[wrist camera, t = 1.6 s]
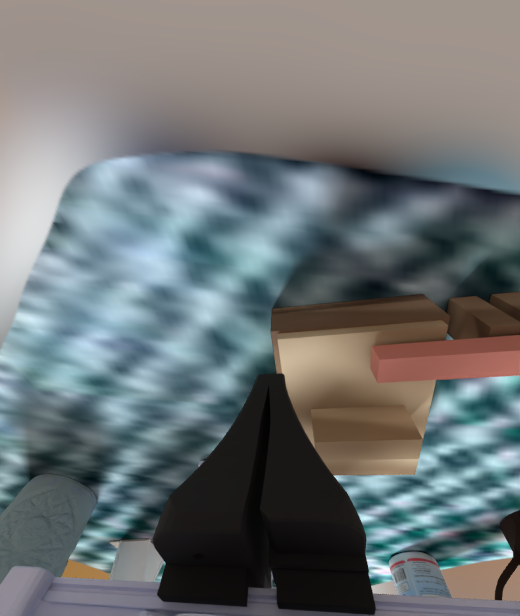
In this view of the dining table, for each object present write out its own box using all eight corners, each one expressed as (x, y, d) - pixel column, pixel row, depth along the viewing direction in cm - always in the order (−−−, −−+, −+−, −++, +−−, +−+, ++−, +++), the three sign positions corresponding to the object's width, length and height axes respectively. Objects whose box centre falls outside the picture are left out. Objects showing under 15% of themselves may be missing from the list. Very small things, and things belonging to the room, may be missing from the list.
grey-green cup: (73, 467, 29) (-46, 631, 19) (118, 511, 33) (43, 666, 23) (7, 475, 31) (-134, 628, 21) (58, 516, 35) (-37, 661, 25)
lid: (411, 466, 20) (431, 510, 17) (295, 468, 21) (298, 509, 18) (442, 320, 14) (480, 353, 11) (277, 333, 15) (277, 366, 12)
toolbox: (470, 432, 22) (503, 475, 19) (290, 437, 24) (291, 477, 21) (521, 284, 16) (584, 311, 12) (271, 308, 18) (270, 337, 14)
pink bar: (566, 355, 13) (591, 371, 12) (370, 368, 15) (377, 383, 14) (578, 330, 13) (606, 344, 12) (371, 345, 14) (379, 359, 13)
